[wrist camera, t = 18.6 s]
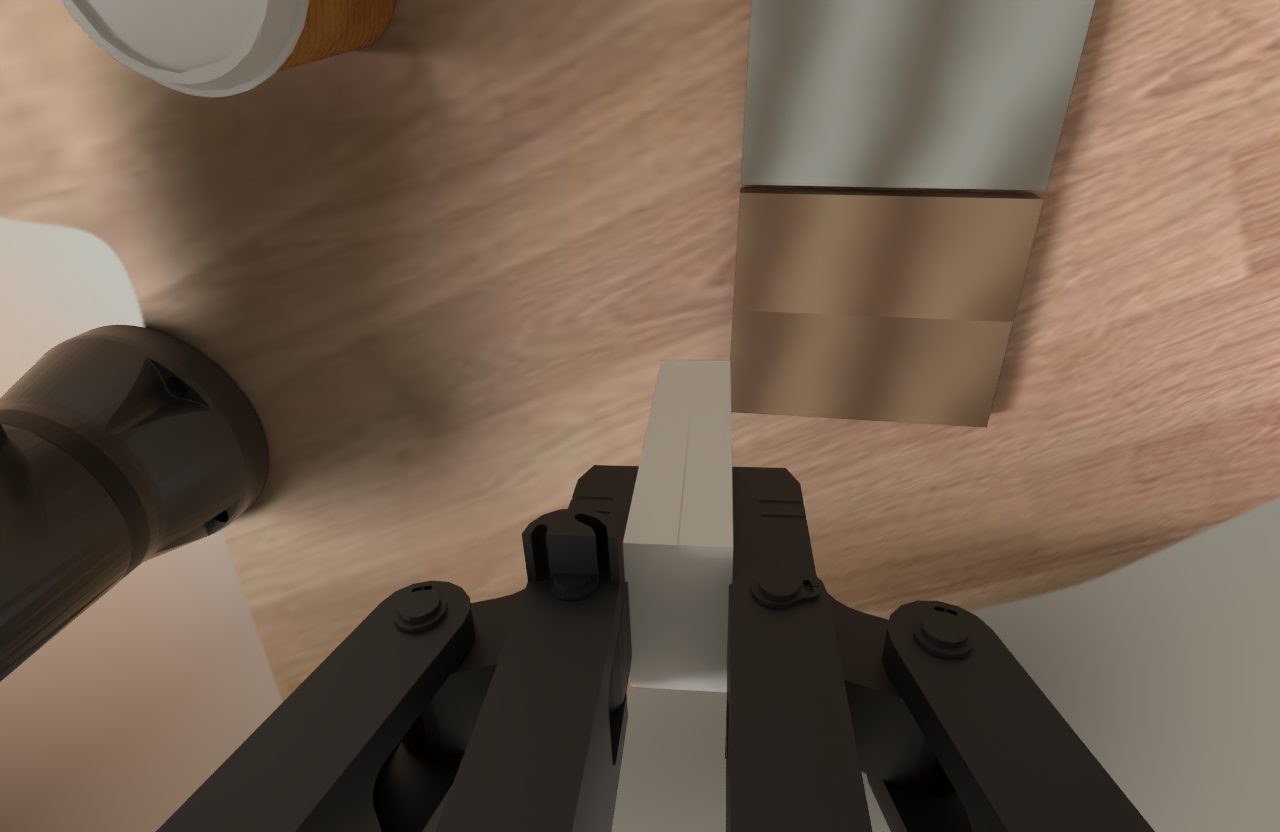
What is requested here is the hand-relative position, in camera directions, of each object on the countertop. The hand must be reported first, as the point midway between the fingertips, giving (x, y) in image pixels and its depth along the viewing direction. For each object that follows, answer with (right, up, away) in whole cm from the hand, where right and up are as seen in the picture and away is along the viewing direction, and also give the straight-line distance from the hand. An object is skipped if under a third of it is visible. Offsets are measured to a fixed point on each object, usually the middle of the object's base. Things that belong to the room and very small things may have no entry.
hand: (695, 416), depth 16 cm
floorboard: (+11, +6, +22) cm, 25 cm away
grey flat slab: (+11, +16, +16) cm, 25 cm away
